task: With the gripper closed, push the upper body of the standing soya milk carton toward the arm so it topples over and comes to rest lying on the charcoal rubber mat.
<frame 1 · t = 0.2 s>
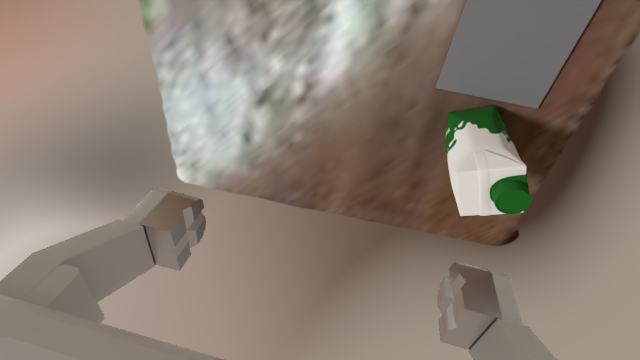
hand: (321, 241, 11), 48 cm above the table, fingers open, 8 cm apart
soya milk: (471, 126, 57), on the table
mat: (510, 42, 48), on the table
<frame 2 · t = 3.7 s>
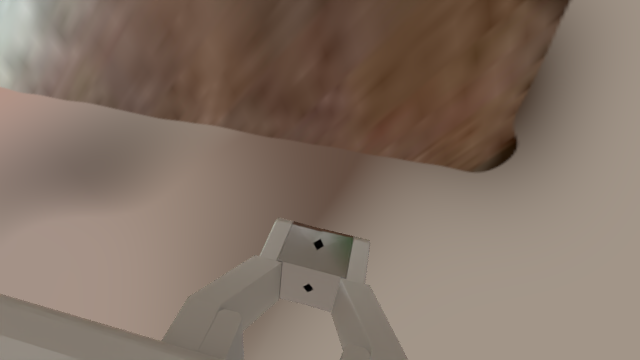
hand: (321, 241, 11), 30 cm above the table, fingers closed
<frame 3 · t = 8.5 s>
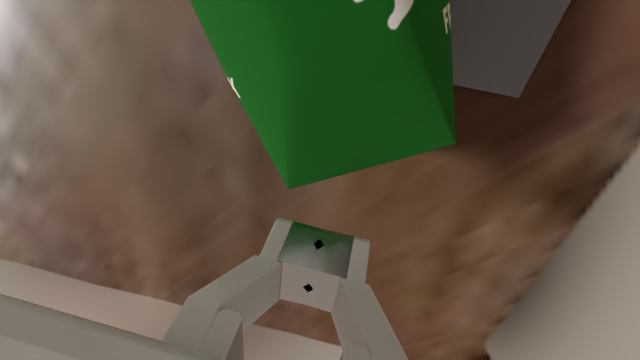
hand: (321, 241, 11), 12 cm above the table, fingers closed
soya milk: (358, 134, 17), point 4 cm above the table, touching mat
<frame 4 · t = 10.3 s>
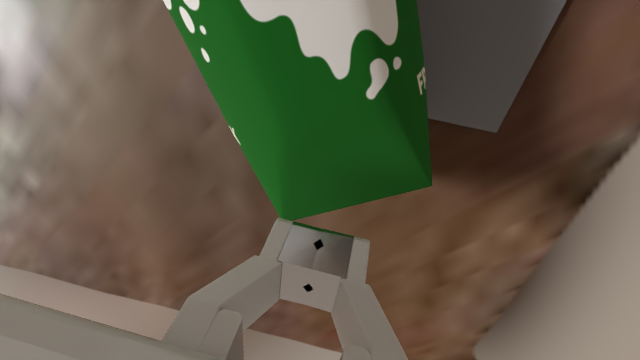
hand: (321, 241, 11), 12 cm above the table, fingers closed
soya milk: (348, 168, 18), point 4 cm above the table, touching mat
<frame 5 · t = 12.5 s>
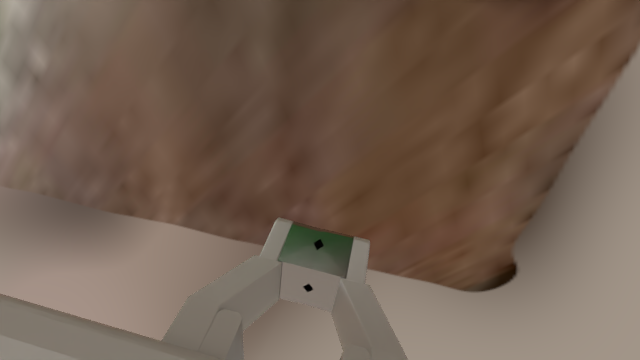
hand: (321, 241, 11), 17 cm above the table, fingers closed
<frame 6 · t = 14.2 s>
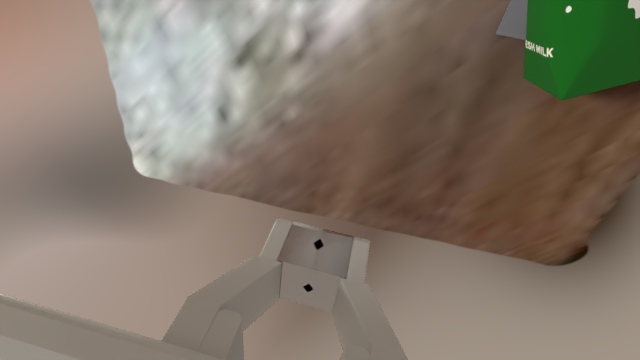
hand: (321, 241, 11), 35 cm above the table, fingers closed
soya milk: (576, 80, 34), point 4 cm above the table, touching mat
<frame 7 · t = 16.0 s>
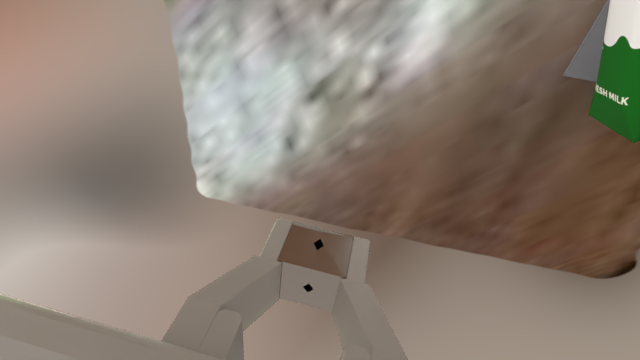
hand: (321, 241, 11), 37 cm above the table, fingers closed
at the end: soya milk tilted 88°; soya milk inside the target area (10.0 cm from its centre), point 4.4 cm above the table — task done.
